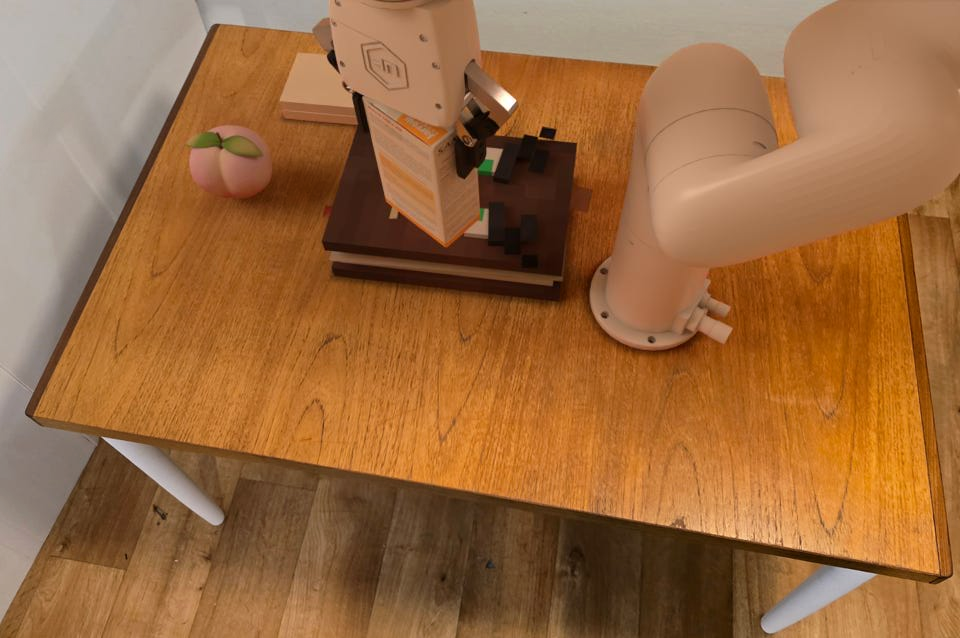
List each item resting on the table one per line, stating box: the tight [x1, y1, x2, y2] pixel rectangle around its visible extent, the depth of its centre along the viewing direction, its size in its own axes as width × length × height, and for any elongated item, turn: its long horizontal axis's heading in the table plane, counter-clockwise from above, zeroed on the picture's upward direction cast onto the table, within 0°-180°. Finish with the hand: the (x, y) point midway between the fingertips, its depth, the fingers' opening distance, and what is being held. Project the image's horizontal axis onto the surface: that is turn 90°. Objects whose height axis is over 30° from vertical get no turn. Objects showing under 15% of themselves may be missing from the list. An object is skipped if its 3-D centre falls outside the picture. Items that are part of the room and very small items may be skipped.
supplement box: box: [362, 96, 480, 247], centre depth 63 cm, size 8×5×13 cm, turn 46°
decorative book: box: [321, 125, 594, 303], centre depth 83 cm, size 19×8×30 cm
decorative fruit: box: [185, 124, 273, 199], centre depth 86 cm, size 9×8×10 cm
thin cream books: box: [278, 52, 358, 126], centre depth 96 cm, size 12×9×3 cm
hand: (421, 143), depth 61 cm, fingers closed on supplement box, 9 cm apart
